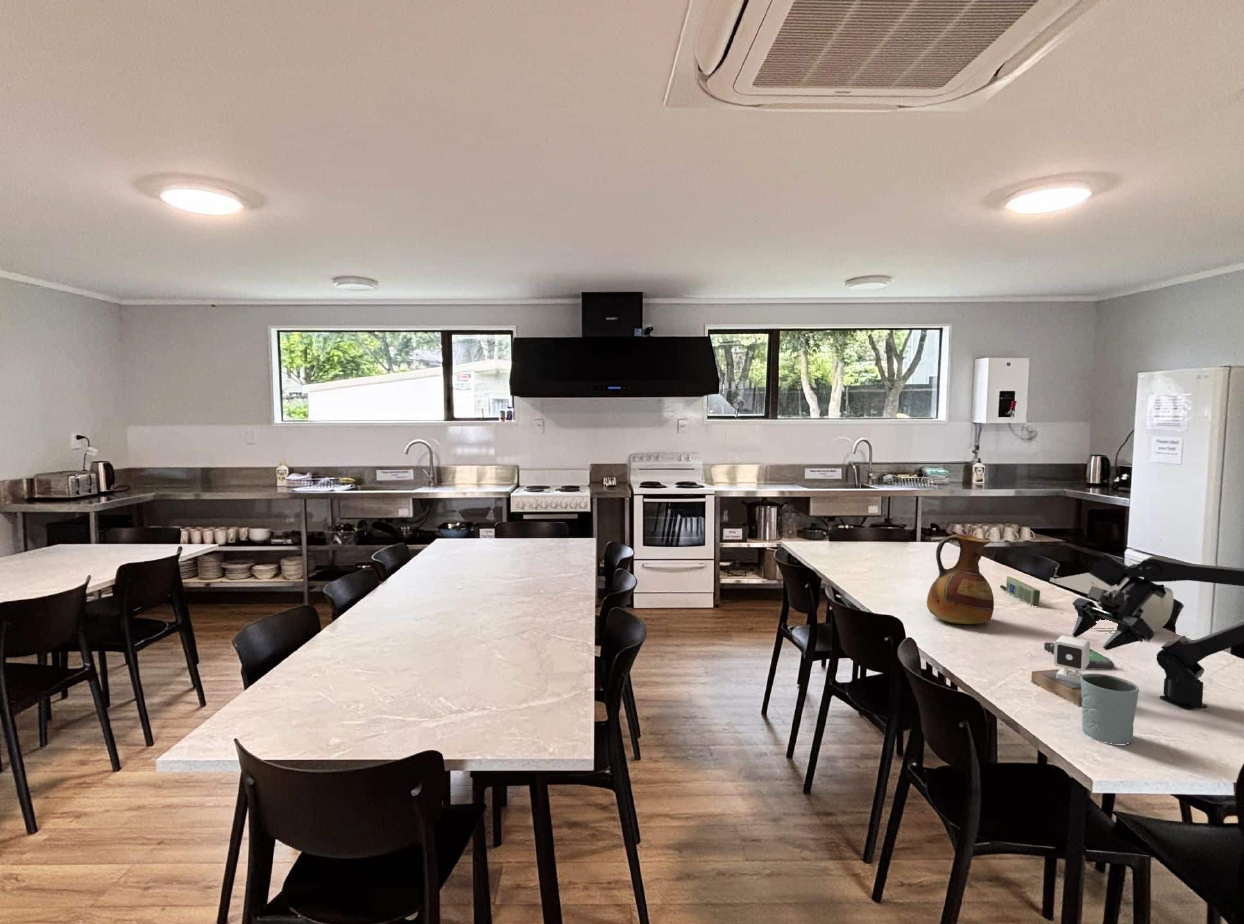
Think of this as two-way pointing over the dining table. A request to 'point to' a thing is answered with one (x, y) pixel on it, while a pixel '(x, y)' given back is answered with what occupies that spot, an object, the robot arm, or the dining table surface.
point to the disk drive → (1094, 658)
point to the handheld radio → (1022, 591)
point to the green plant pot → (1108, 708)
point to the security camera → (1071, 657)
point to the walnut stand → (1058, 685)
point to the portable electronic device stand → (1153, 609)
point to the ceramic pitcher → (962, 585)
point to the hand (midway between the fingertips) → (1088, 642)
